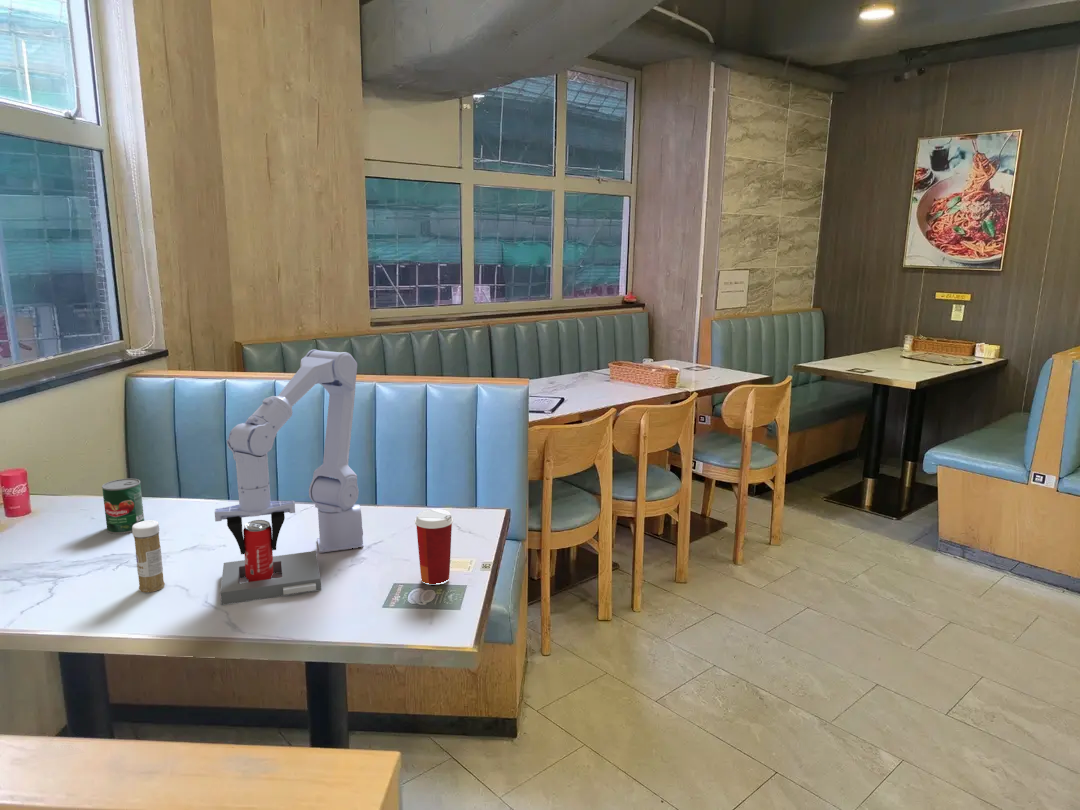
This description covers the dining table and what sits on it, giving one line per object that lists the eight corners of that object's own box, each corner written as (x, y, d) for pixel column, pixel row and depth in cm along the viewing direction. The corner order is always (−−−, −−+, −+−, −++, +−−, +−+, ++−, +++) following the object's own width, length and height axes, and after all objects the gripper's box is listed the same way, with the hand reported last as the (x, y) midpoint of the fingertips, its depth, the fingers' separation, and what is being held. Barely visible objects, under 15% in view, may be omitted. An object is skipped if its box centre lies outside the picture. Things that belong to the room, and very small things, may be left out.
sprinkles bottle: (135, 588, 142) (127, 524, 139) (159, 580, 145) (152, 517, 142) (145, 595, 139) (137, 530, 136) (169, 587, 142) (162, 523, 139)
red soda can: (264, 587, 142) (261, 533, 139) (240, 583, 143) (237, 528, 140) (278, 574, 147) (276, 521, 144) (255, 570, 148) (253, 517, 145)
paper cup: (460, 575, 149) (459, 510, 146) (443, 591, 142) (442, 524, 139) (426, 569, 151) (425, 506, 149) (408, 584, 144) (406, 518, 141)
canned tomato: (106, 536, 167) (101, 491, 165) (107, 525, 174) (101, 481, 171) (145, 530, 171) (140, 485, 168) (144, 519, 177) (139, 476, 175)
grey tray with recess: (316, 561, 154) (315, 550, 154) (321, 592, 141) (321, 581, 140) (224, 574, 148) (223, 562, 148) (221, 608, 134) (220, 595, 134)
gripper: (211, 495, 134) (217, 563, 137) (294, 487, 139) (298, 553, 142) (213, 483, 140) (219, 549, 143) (292, 476, 145) (296, 539, 148)
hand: (258, 550), depth 143 cm, fingers closed on red soda can, 5 cm apart
